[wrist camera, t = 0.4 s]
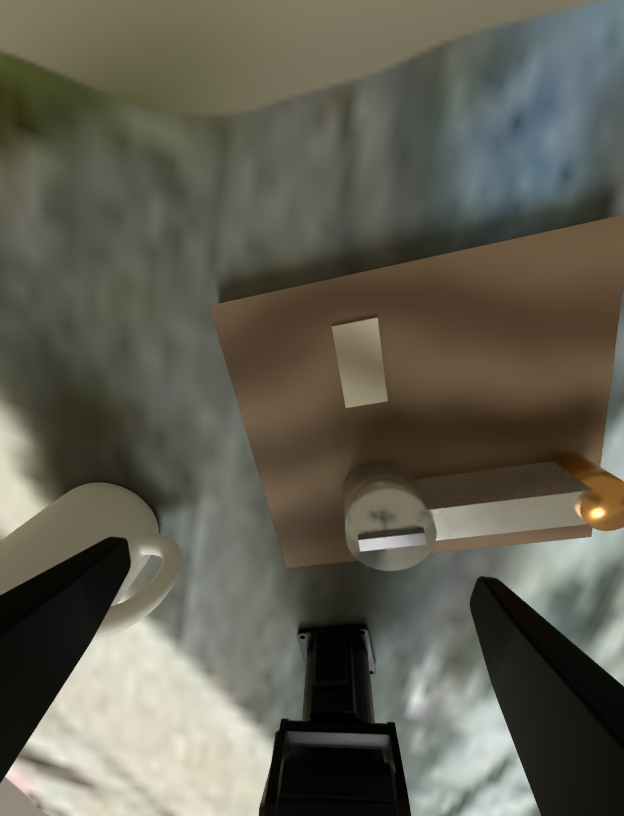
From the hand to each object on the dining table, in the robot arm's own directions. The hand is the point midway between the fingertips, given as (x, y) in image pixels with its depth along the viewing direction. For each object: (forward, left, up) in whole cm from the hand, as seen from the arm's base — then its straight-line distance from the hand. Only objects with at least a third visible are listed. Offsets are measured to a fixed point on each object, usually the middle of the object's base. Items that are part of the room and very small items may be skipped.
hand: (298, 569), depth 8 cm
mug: (-8, +17, -14) cm, 23 cm away
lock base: (-3, -6, -14) cm, 15 cm away
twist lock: (-7, -8, -12) cm, 16 cm away
